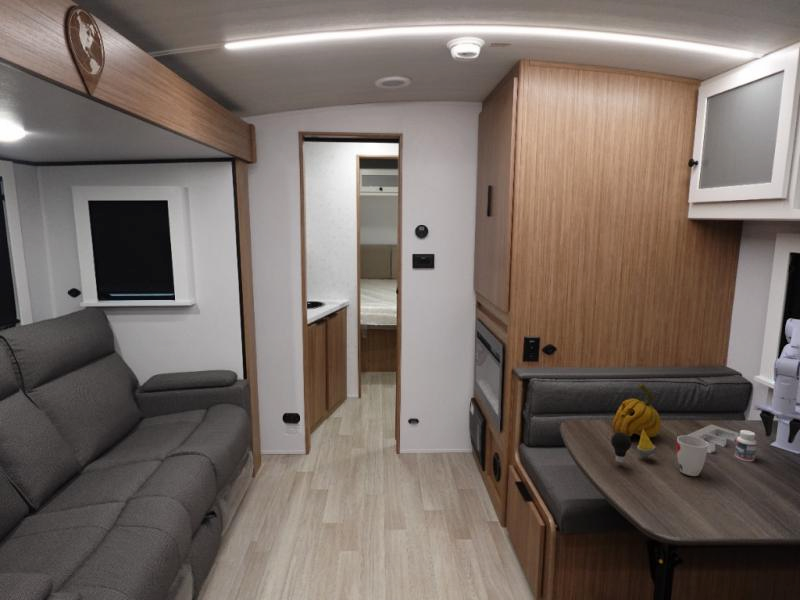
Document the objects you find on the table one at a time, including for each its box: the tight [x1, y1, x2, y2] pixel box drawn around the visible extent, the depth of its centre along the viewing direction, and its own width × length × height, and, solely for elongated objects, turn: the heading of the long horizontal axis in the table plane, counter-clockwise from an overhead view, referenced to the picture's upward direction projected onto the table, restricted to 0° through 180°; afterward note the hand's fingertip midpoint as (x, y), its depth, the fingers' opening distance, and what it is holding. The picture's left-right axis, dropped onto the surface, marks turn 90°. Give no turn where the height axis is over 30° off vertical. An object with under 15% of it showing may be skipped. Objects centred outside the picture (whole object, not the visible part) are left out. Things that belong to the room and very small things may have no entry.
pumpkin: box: [611, 382, 662, 438], centre depth 171 cm, size 14×16×20 cm
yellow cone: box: [636, 429, 656, 459], centre depth 155 cm, size 5×5×10 cm
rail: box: [685, 424, 740, 454], centre depth 168 cm, size 20×9×2 cm, turn 123°
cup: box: [676, 435, 708, 477], centre depth 146 cm, size 8×8×10 cm
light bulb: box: [610, 432, 632, 464], centre depth 151 cm, size 6×6×10 cm
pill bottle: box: [734, 429, 757, 462], centre depth 155 cm, size 5×5×9 cm
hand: (779, 438), depth 147 cm, fingers open, 5 cm apart
